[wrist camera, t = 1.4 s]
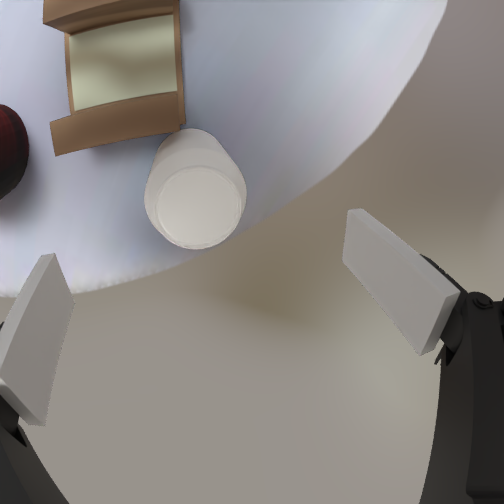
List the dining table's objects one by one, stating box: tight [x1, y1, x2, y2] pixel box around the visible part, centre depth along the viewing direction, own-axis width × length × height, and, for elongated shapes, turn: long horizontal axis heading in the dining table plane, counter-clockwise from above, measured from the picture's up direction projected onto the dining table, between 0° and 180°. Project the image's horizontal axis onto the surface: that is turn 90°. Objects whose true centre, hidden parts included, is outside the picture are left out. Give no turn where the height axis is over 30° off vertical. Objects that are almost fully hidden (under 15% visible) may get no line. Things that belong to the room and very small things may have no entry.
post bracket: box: [43, 0, 186, 156], centre depth 17 cm, size 13×10×7 cm
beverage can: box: [144, 128, 247, 249], centre depth 21 cm, size 6×6×12 cm
